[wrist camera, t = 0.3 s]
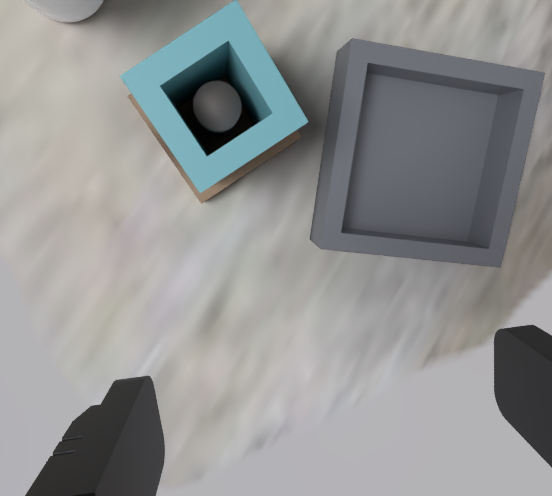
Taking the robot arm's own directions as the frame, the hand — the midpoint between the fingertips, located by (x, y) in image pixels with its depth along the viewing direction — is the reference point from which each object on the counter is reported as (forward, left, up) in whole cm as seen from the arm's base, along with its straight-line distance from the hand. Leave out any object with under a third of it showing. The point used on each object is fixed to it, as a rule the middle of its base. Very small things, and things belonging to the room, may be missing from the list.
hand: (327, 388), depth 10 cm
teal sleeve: (-7, -3, -21) cm, 22 cm away
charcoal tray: (-6, +11, -22) cm, 25 cm away
